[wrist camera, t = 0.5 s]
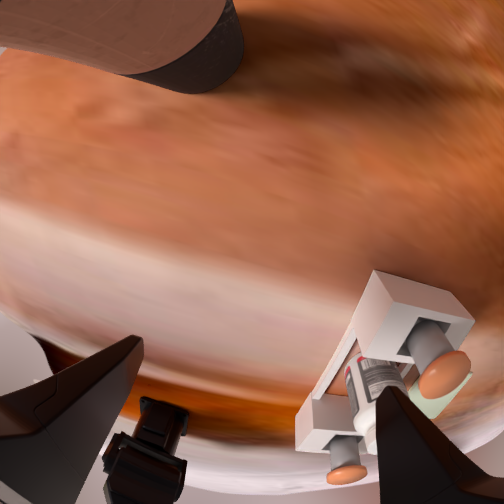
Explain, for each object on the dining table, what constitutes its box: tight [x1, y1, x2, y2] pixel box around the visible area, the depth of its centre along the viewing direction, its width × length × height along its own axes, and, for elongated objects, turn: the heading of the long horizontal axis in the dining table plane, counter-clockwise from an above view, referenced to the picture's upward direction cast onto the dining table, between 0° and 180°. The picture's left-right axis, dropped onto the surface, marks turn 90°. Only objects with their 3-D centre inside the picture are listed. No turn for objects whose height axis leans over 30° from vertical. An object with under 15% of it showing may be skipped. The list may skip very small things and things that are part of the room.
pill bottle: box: [344, 352, 410, 455], centre depth 21 cm, size 5×5×10 cm
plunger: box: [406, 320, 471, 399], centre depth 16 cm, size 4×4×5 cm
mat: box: [408, 372, 472, 419], centre depth 27 cm, size 9×9×1 cm
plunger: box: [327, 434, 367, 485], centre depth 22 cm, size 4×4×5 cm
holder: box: [295, 270, 476, 454], centre depth 23 cm, size 20×9×5 cm, turn 166°
